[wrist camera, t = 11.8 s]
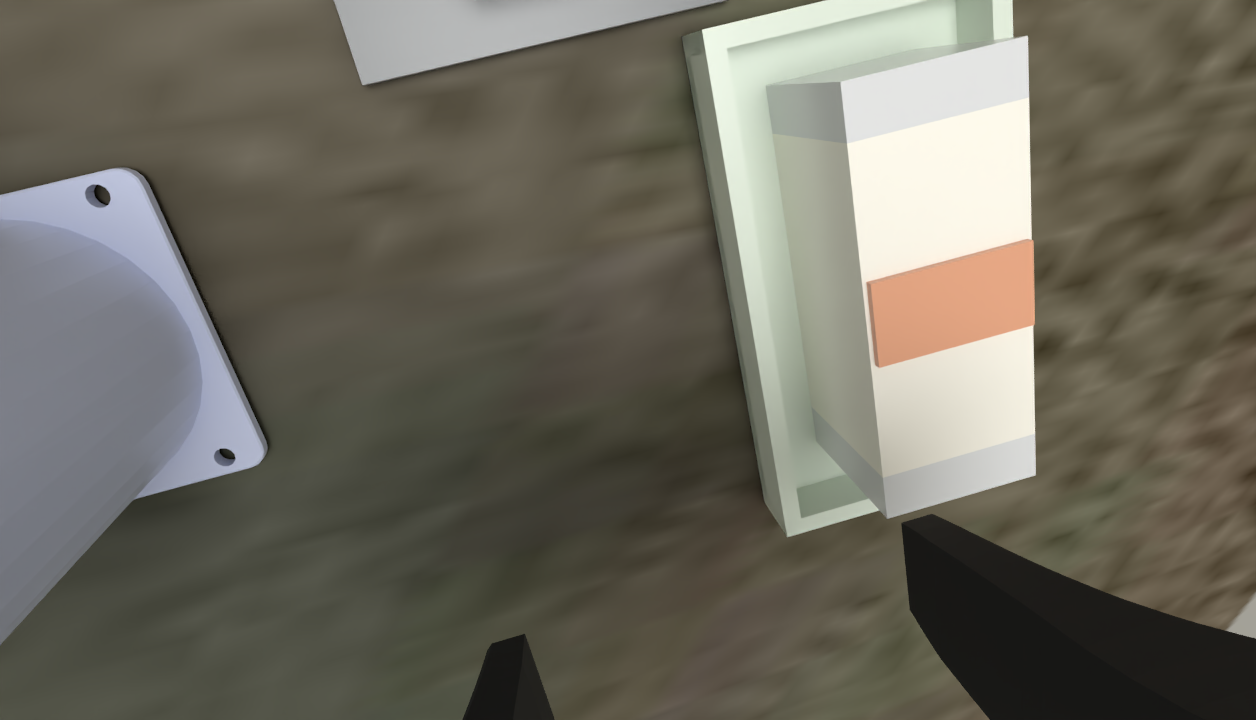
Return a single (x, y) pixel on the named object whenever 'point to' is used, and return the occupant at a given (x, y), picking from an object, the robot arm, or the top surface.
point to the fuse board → (476, 28)
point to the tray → (754, 218)
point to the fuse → (914, 266)
